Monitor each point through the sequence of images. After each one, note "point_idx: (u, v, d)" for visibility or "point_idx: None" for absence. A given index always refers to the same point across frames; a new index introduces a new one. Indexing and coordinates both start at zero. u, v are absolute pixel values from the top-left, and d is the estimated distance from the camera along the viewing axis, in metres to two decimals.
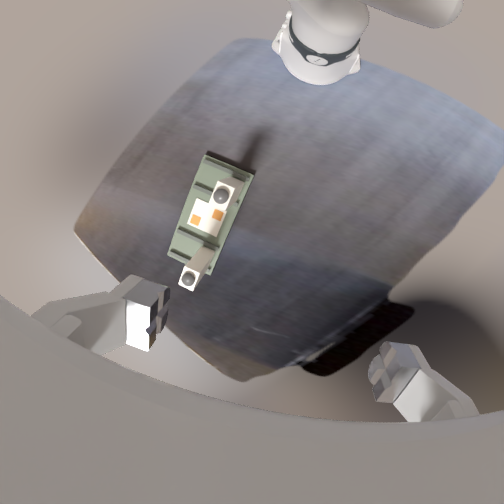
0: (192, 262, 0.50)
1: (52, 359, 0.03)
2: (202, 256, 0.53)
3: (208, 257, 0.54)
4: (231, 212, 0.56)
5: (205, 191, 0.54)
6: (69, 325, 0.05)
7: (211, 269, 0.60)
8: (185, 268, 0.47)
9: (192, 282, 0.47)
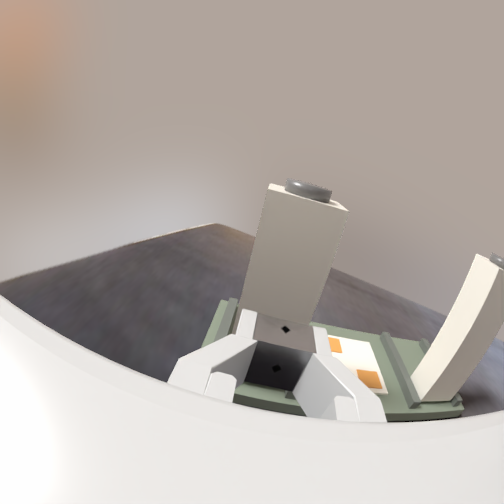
0: None
1: (52, 359, 0.03)
2: None
3: None
4: (391, 403, 0.16)
5: (393, 348, 0.22)
6: (225, 385, 0.05)
7: None
8: None
9: (311, 186, 0.13)
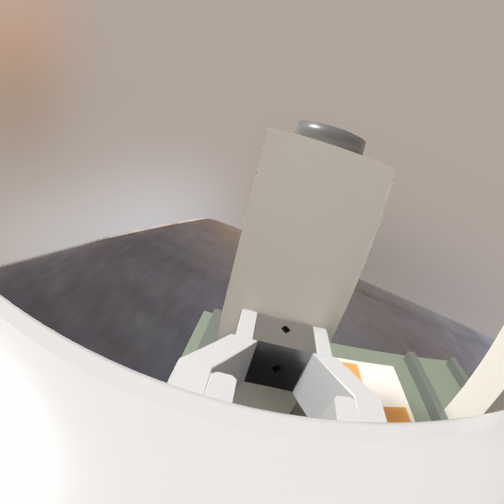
0: None
1: (52, 359, 0.03)
2: None
3: None
4: None
5: (422, 374, 0.16)
6: (225, 385, 0.05)
7: None
8: None
9: None
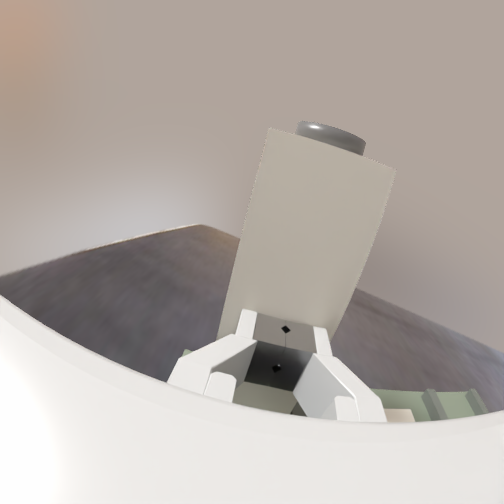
0: None
1: (52, 359, 0.03)
2: None
3: None
4: None
5: (443, 416, 0.12)
6: (224, 385, 0.05)
7: None
8: None
9: None
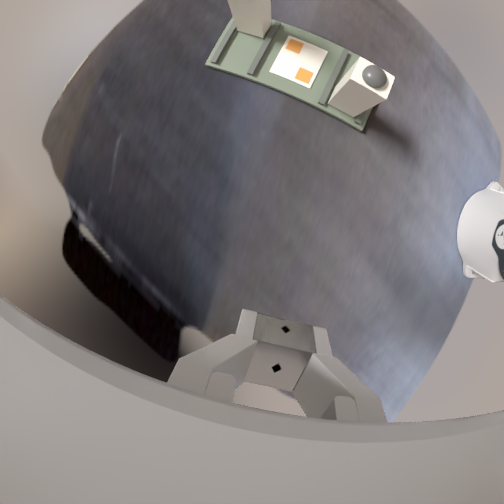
0: None
1: (52, 359, 0.03)
2: (265, 13, 0.23)
3: (263, 22, 0.25)
4: (308, 94, 0.32)
5: (339, 63, 0.29)
6: (225, 386, 0.05)
7: (214, 65, 0.31)
8: None
9: None
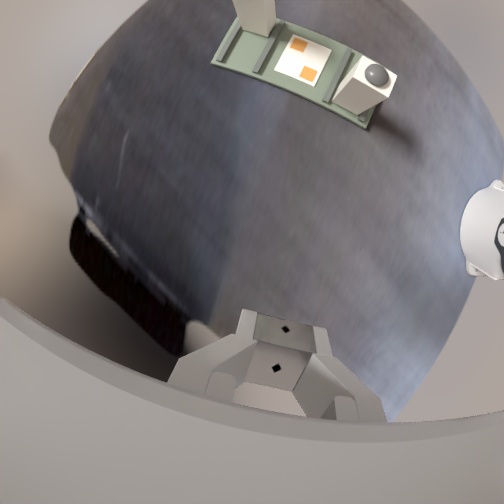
0: None
1: (52, 359, 0.03)
2: (270, 13, 0.24)
3: (267, 21, 0.25)
4: (312, 92, 0.32)
5: (343, 62, 0.29)
6: (225, 386, 0.05)
7: (220, 63, 0.32)
8: None
9: None
